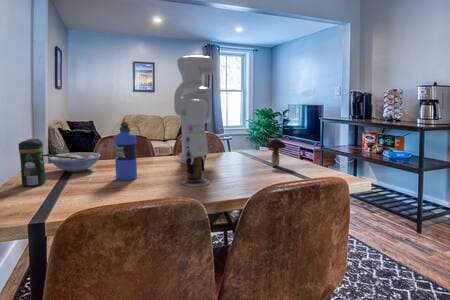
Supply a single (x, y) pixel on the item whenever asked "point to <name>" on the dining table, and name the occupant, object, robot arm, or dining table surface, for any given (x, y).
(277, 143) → the decorative mushroom
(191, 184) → the coaster
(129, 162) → the water bottle
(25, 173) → the coffee jar
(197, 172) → the condiment
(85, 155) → the ramen bowl
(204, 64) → the robot arm
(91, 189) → the dining table surface
